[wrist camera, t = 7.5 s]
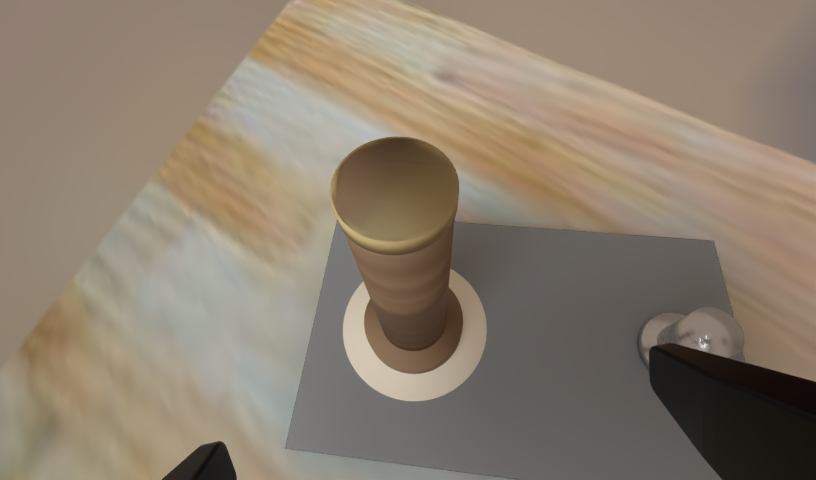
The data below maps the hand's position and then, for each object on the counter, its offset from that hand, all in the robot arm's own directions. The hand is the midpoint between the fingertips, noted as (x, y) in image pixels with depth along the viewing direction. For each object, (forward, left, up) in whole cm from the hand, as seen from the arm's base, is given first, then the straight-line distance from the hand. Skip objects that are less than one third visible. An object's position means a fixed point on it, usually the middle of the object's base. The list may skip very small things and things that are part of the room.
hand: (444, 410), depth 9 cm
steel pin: (+5, -10, -11) cm, 16 cm away
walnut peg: (+5, +2, -10) cm, 11 cm away
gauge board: (+5, -3, -12) cm, 13 cm away
